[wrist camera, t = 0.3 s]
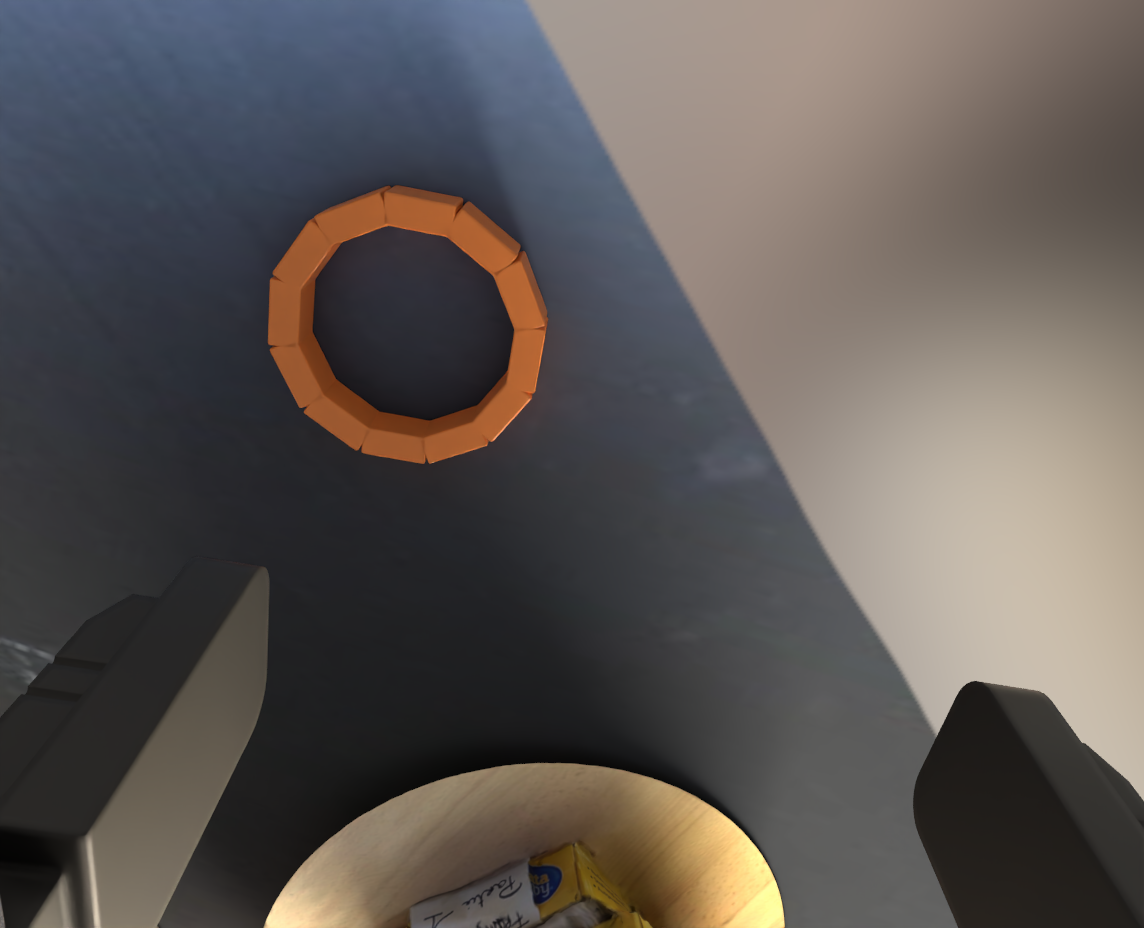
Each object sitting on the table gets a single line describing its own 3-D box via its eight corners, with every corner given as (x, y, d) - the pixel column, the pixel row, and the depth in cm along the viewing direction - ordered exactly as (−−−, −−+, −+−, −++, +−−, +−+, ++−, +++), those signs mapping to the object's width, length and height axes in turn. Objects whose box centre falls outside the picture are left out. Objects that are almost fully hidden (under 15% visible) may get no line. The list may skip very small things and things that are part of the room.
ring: (290, 163, 26) (273, 169, 25) (566, 217, 27) (564, 226, 26) (279, 418, 30) (263, 436, 29) (522, 462, 31) (518, 481, 29)
